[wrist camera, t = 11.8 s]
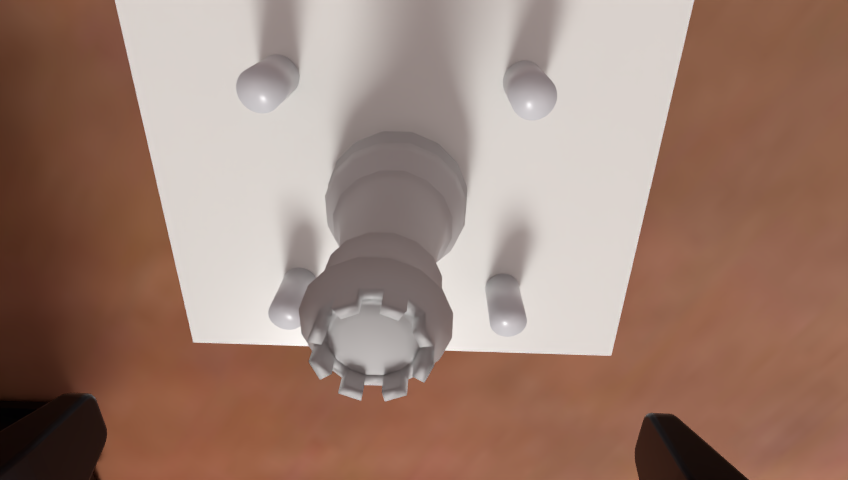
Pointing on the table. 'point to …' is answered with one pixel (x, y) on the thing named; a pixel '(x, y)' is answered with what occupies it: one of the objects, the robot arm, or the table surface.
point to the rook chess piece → (385, 264)
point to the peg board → (421, 114)
